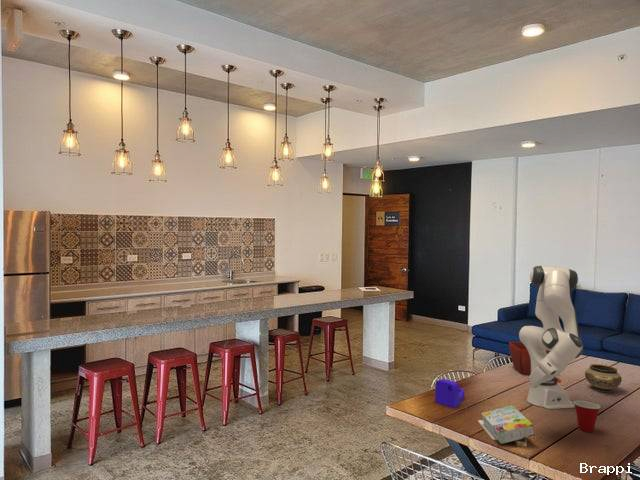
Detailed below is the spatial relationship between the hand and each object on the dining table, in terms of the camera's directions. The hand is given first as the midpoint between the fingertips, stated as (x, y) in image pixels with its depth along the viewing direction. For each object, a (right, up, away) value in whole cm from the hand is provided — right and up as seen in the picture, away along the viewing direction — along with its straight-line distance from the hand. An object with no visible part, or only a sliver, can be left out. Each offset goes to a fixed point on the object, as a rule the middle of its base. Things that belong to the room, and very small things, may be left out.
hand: (532, 387), depth 216 cm
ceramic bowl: (+65, -19, +56) cm, 87 cm away
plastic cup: (+24, -20, +1) cm, 31 cm away
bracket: (-26, -18, +34) cm, 46 cm away
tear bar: (-12, -19, -6) cm, 23 cm away
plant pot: (+36, -17, +87) cm, 95 cm away
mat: (-18, -19, -2) cm, 26 cm away
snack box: (-7, -12, -7) cm, 15 cm away
